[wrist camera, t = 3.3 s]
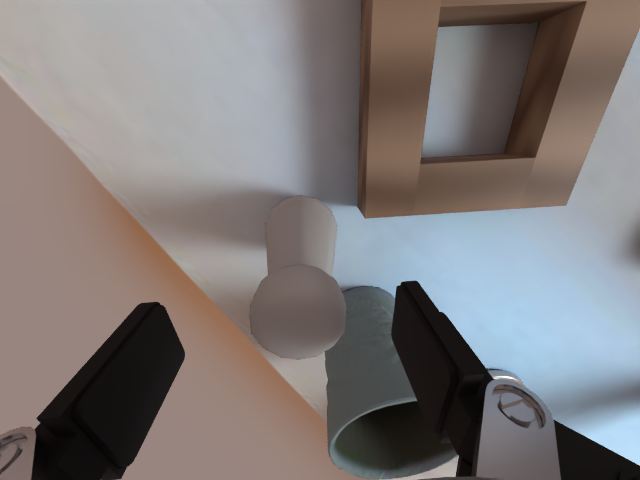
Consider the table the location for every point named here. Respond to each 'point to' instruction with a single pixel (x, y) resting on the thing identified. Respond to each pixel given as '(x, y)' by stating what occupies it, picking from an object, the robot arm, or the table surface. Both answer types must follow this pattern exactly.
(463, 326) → the table surface
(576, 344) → the table surface
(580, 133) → the holder board
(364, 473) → the green embossed cup
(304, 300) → the salt shaker
